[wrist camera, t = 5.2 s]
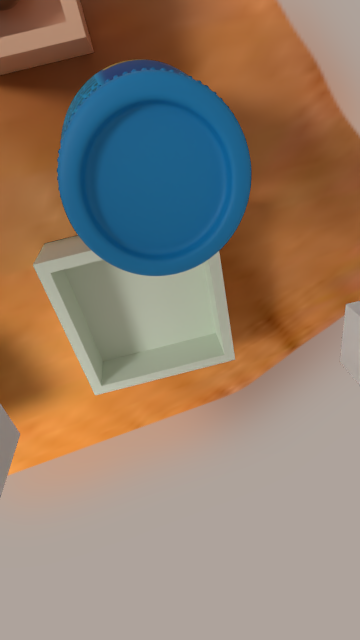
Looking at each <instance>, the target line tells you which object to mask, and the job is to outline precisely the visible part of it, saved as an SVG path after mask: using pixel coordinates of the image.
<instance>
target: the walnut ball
mask: <svg viewBox="0 0 360 640" xmlns="http://www.w3.org/2000/svg"><path fill="white" fill-rule="evenodd" d="M18 2H19V0H0V11H4V10H8V9H11V8H13V7H14V6H15V5H16V4H17V3H18Z"/></svg>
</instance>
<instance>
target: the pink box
mask: <svg viewBox="0 0 360 640" xmlns="http://www.w3.org/2000/svg"><path fill="white" fill-rule="evenodd" d="M90 53H94V50H93V47H92V43H91V39H90V35H89V32H88V28H87V24H86V21H85V17H84V13H83V10H82V6H81V2H80V0H19V2H18V3H17V4H16V5H15V6H14V7H13V8H11V9H8V10H4V11H0V75H3V74H7V73H11V72H15V71H20V70H24V69H28V68H32V67H36V66H40V65H44V64H49V63H53V62H57V61H61V60H65V59H69V58H73V57H78V56H82V55H86V54H90Z"/></svg>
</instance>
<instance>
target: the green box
mask: <svg viewBox="0 0 360 640" xmlns="http://www.w3.org/2000/svg"><path fill="white" fill-rule="evenodd" d="M33 266H34V268H35V270H36V273H37V275H38V277H39V279H40V281H41V283H42V285H43V287H44V289H45V291H46V293H47V296H48V298H49V300H50V302H51V304H52V306H53V308H54V310H55V312H56V314H57V316H58V319H59V321H60V323H61V325H62V327H63V329H64V331H65V333H66V335H67V337H68V339H69V341H70V344H71V346H72V348H73V350H74V352H75V354H76V356H77V358H78V360H79V362H80V364H81V367H82V369H83V371H84V373H85V375H86V377H87V379H88V381H89V383H90V385H91V387H92V390H93V392H94V394H95V395H98V394H102V393H106V392H110V391H114V390H118V389H122V388H126V387H130V386H134V385H138V384H142V383H146V382H149V381H153V380H157V379H161V378H165V377H169V376H173V375H177V374H181V373H185V372H189V371H193V370H197V369H200V368H204V367H208V366H212V365H216V364H220V363H224V362H228V361H232V360H235V355H234V348H233V341H232V334H231V328H230V321H229V314H228V307H227V300H226V294H225V287H224V280H223V273H222V267H221V260H220V253H219V251H218V252H217V253H216V254H215V255H214V256H212V257H211V258H210V259H208V260H207V261H205V262H204V263H202V264H200V265H198V266H197V267H194V268H192V269H190V270H187V271H184V272H181V273H178V274H173V275H167V276H145V275H139V274H134V273H130V272H127V271H124V270H122V269H119V268H117V267H115V266H113V265H111V264H109V263H108V262H106V261H104V260H103V259H101V258H100V257H99V256H97V255H96V254H95V253H94V252H93V251H92V250H91V249H90V248H89V247H88V246H87V245H86V244H85V243H84V242H83V241H82V240H81V238H80V237H79V236H78V235H77V236H73V237H69V238H65V239H61V240H57V241H53V242H49V243H45V244H44V245H43V247H42V249H41V251H40V253H39V254H38V256H37V258H36V260H35V262H34V264H33Z"/></svg>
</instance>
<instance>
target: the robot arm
mask: <svg viewBox="0 0 360 640" xmlns="http://www.w3.org/2000/svg"><path fill="white" fill-rule="evenodd" d="M340 363H341V364H342V365H343V366H344V367H345V369H346V370H347V371H348V372H349V373H350V375H351V376H352V377H353V378H354V379H355V381H356V382H357V383H358V384H359V385H360V301H357V302H353V303H348V304H346V308H345V317H344V326H343V336H342V345H341V353H340ZM19 436H20V433H19V431H18V430H17V428H16V427H15V425H14V424H13V422H12V421H11V419H10V418H9V416H8V415H7V413H6V411H5V410H4V408H3V407H2V405H1V404H0V497H1V494H2V490H3V487H4V484H5V481H6V478H7V475H8V471H9V468H10V465H11V462H12V459H13V455H14V452H15V449H16V446H17V443H18V439H19Z"/></svg>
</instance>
